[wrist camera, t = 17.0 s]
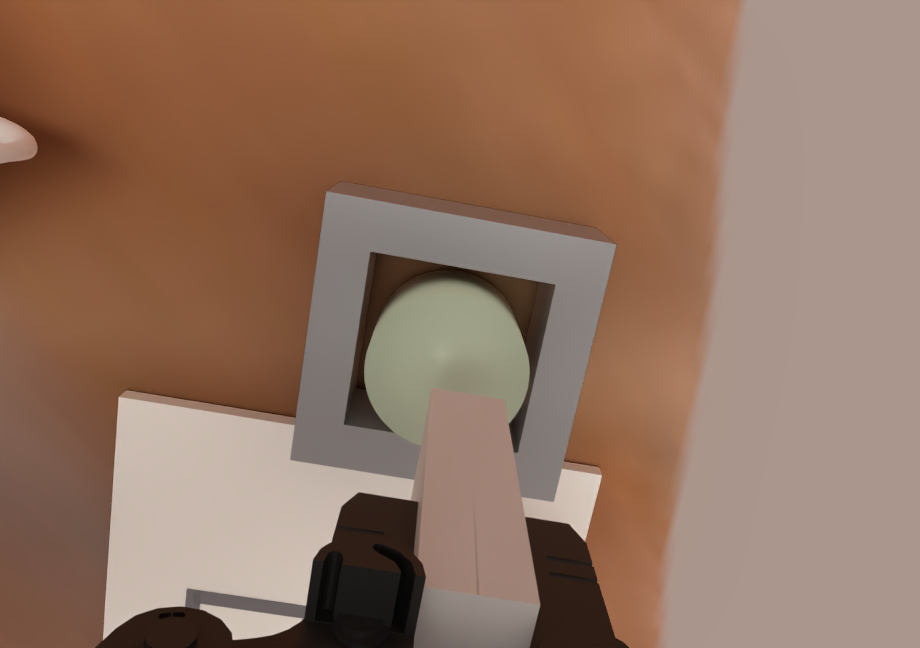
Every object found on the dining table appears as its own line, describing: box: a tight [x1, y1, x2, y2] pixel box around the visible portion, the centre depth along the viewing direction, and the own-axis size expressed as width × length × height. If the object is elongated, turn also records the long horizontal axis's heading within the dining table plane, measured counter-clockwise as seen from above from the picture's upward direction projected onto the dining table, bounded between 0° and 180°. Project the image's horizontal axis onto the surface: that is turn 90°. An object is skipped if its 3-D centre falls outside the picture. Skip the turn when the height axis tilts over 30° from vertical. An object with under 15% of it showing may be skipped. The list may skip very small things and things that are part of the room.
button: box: [364, 270, 530, 446], centre depth 21 cm, size 4×4×3 cm
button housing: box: [290, 181, 617, 502], centre depth 23 cm, size 8×8×3 cm
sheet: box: [103, 390, 602, 640], centre depth 27 cm, size 16×13×1 cm
